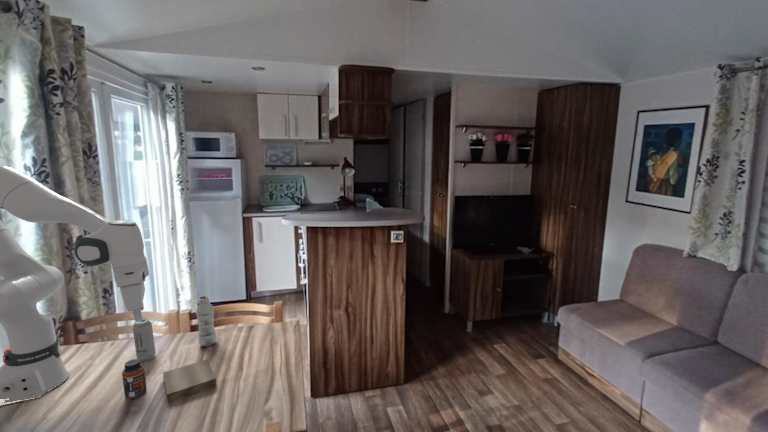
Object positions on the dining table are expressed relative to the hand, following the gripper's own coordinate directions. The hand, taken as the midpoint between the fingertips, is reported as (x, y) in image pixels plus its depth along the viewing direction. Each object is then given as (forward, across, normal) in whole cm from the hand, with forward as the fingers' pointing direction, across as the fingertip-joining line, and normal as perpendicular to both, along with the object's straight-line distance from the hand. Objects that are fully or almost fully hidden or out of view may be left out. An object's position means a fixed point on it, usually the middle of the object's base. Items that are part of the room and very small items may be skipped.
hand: (139, 314), depth 116 cm
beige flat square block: (+28, 0, +10) cm, 29 cm away
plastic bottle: (+27, -25, +18) cm, 41 cm away
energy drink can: (+26, -26, -3) cm, 37 cm away
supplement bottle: (+27, -3, -5) cm, 28 cm away
